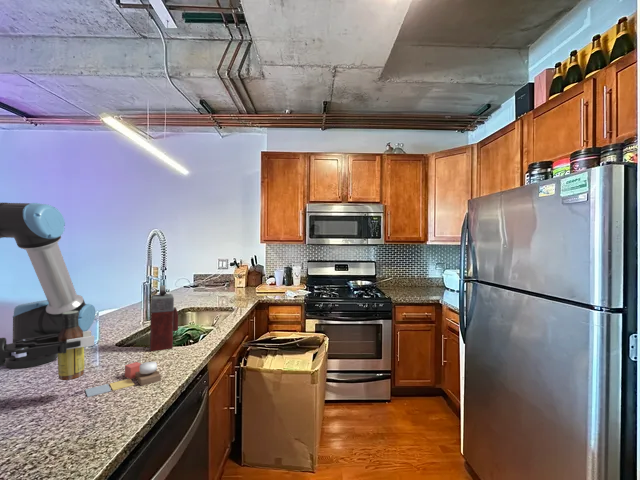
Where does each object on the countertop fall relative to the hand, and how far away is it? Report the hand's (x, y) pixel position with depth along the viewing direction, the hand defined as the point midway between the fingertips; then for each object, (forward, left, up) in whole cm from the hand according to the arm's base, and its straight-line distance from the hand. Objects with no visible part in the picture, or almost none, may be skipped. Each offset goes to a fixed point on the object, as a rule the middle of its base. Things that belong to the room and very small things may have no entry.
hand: (92, 337), depth 97 cm
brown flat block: (+1, +16, -17) cm, 23 cm away
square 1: (0, +2, -17) cm, 17 cm away
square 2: (0, +8, -17) cm, 19 cm away
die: (-6, +13, -17) cm, 22 cm away
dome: (+1, +16, -14) cm, 21 cm away
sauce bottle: (0, -5, -11) cm, 12 cm away
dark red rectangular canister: (-32, +30, -17) cm, 47 cm away
